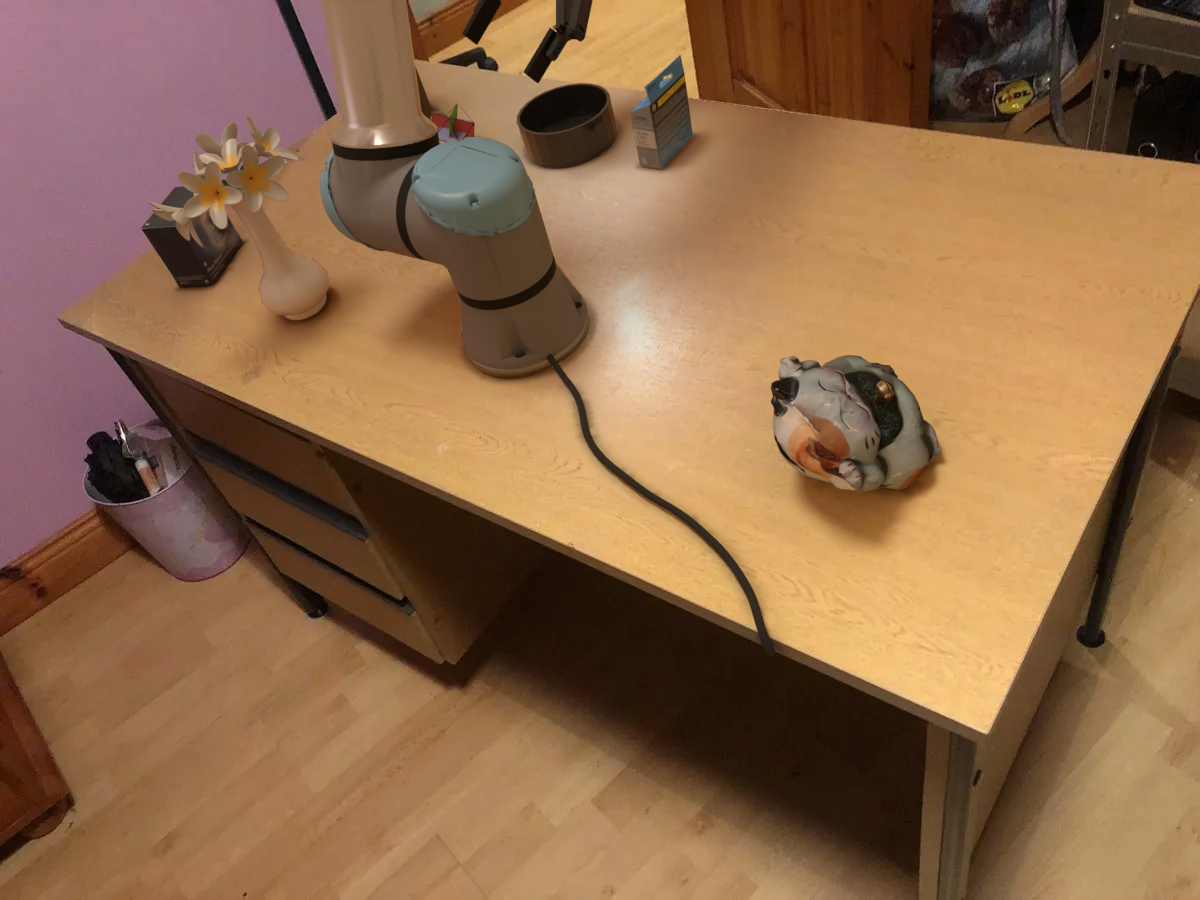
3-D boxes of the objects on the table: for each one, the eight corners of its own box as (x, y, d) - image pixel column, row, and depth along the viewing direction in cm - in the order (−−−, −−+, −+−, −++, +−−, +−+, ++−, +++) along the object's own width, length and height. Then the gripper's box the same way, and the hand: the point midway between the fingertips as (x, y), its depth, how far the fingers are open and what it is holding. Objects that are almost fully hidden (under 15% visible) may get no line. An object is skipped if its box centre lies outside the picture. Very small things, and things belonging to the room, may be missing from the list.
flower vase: (226, 345, 126) (114, 183, 108) (315, 261, 135) (226, 99, 117) (292, 364, 119) (185, 196, 102) (381, 274, 129) (298, 105, 111)
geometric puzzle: (492, 120, 147) (451, 85, 144) (480, 144, 142) (436, 109, 139) (468, 149, 152) (427, 115, 149) (455, 172, 147) (412, 139, 144)
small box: (215, 286, 137) (176, 225, 129) (178, 288, 139) (137, 229, 131) (246, 241, 143) (210, 181, 136) (210, 244, 145) (173, 185, 138)
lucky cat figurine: (962, 481, 84) (922, 437, 73) (841, 538, 89) (786, 505, 78) (892, 347, 91) (846, 288, 80) (783, 407, 96) (725, 359, 85)
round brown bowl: (637, 126, 140) (629, 92, 136) (573, 177, 134) (563, 142, 130) (571, 110, 148) (562, 76, 144) (508, 156, 143) (497, 123, 139)
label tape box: (672, 133, 136) (656, 51, 127) (696, 136, 134) (682, 53, 125) (639, 166, 132) (620, 84, 123) (663, 170, 130) (646, 87, 121)
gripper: (663, -39, 121) (573, 107, 126) (540, -99, 133) (462, 37, 138) (636, -74, 115) (542, 82, 119) (509, -133, 127) (428, 10, 131)
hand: (499, 58), depth 129 cm, fingers open, 13 cm apart
